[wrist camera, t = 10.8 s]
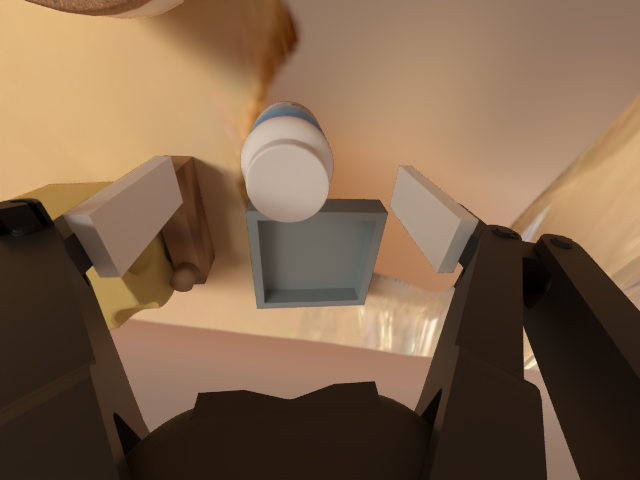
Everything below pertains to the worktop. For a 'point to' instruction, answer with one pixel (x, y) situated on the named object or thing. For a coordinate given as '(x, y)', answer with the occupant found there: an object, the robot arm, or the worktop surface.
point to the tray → (316, 254)
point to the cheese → (142, 276)
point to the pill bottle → (287, 163)
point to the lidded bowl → (112, 7)
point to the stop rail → (188, 231)
